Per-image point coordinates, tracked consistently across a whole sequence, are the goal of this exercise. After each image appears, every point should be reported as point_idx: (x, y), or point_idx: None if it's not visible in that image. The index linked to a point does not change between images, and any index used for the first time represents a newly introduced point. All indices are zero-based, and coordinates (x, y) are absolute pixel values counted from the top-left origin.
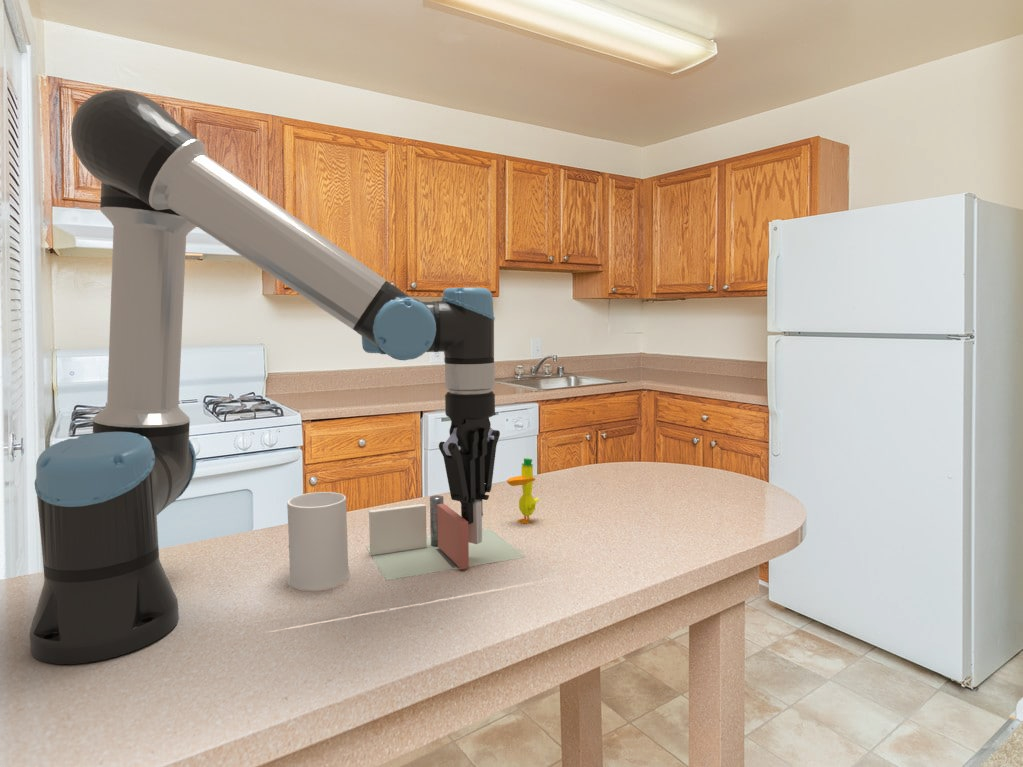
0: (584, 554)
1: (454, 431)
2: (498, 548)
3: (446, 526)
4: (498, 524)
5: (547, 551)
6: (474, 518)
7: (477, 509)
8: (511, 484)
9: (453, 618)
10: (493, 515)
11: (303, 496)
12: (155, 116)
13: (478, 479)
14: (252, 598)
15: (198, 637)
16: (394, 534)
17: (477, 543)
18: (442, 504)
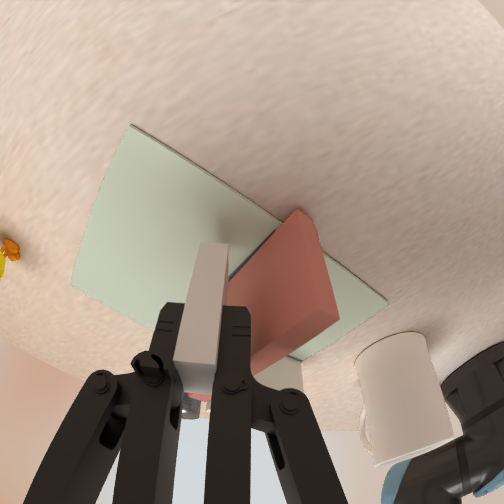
0: (38, 37)
1: None
2: (128, 216)
3: None
4: (46, 281)
5: (63, 113)
6: (222, 313)
7: (209, 337)
8: None
9: (491, 135)
10: (36, 303)
11: (390, 461)
12: None
13: (161, 457)
14: (435, 360)
15: (495, 333)
16: (272, 378)
17: (225, 245)
18: (197, 397)
